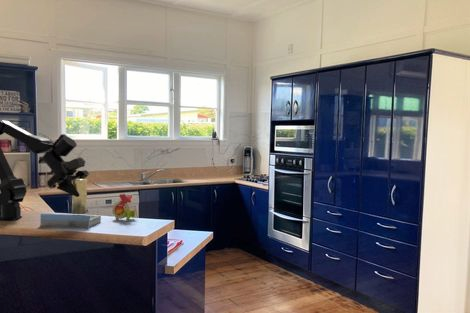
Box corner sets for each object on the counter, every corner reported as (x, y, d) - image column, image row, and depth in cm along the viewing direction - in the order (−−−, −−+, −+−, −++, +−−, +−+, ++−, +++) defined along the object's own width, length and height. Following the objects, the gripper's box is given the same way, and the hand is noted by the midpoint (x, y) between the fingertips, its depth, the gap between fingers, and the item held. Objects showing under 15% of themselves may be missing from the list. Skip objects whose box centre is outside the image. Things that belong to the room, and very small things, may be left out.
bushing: (69, 212, 143) (69, 179, 143) (78, 210, 148) (79, 178, 147) (79, 214, 141) (80, 180, 141) (89, 212, 146) (89, 179, 146)
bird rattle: (114, 226, 152) (134, 218, 151) (104, 200, 152) (124, 192, 151) (120, 223, 158) (140, 215, 157) (110, 198, 159) (130, 190, 158)
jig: (40, 226, 140) (40, 213, 140) (56, 219, 151) (56, 208, 151) (88, 228, 139) (88, 215, 139) (100, 221, 150) (100, 210, 150)
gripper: (55, 150, 135) (82, 183, 134) (85, 150, 154) (109, 179, 152) (35, 171, 137) (61, 204, 135) (67, 168, 155) (91, 197, 154)
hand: (82, 195), depth 144 cm, fingers closed on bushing, 5 cm apart
